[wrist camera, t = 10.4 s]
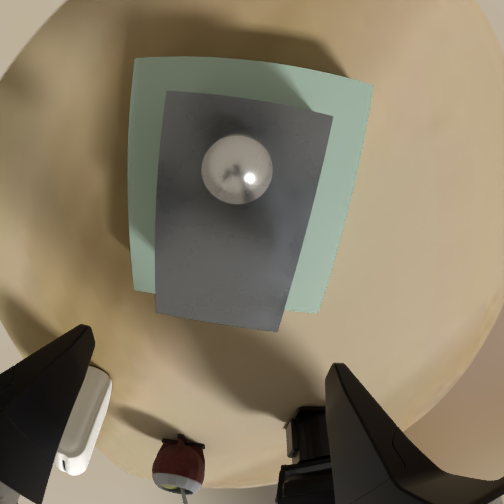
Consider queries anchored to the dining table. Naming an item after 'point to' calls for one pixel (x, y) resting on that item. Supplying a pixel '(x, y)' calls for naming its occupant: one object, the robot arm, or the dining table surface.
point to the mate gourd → (179, 467)
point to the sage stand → (257, 88)
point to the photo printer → (84, 423)
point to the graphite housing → (233, 205)
